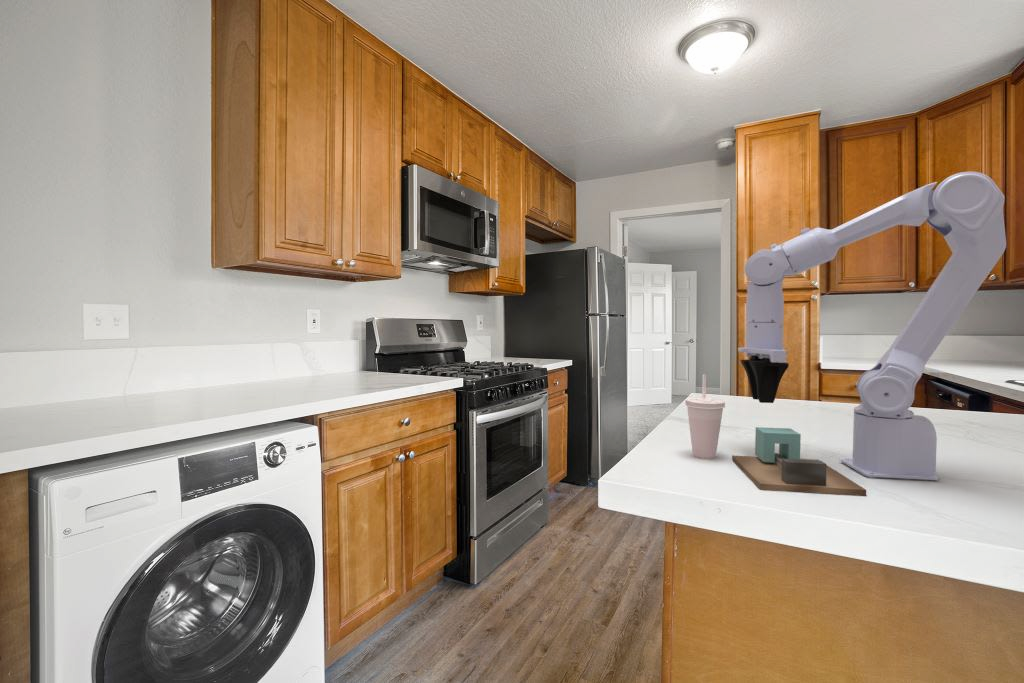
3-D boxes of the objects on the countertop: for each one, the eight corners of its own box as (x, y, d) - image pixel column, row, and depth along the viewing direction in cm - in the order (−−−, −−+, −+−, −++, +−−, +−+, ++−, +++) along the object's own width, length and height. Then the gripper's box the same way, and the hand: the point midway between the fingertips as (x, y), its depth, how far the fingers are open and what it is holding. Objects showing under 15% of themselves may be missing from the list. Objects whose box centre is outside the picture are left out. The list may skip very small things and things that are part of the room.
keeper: (789, 456, 76) (790, 428, 76) (799, 463, 72) (800, 434, 72) (755, 454, 77) (755, 427, 77) (763, 461, 73) (763, 432, 73)
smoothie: (717, 451, 83) (718, 373, 83) (730, 461, 77) (731, 377, 77) (680, 450, 84) (681, 373, 84) (690, 460, 78) (691, 377, 77)
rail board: (818, 464, 75) (818, 441, 75) (866, 495, 62) (866, 467, 62) (732, 460, 78) (732, 437, 78) (759, 489, 64) (760, 462, 64)
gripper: (728, 322, 88) (727, 394, 89) (752, 322, 74) (751, 407, 74) (768, 322, 87) (767, 395, 87) (801, 322, 73) (799, 408, 73)
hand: (762, 400), depth 81 cm, fingers open, 3 cm apart
